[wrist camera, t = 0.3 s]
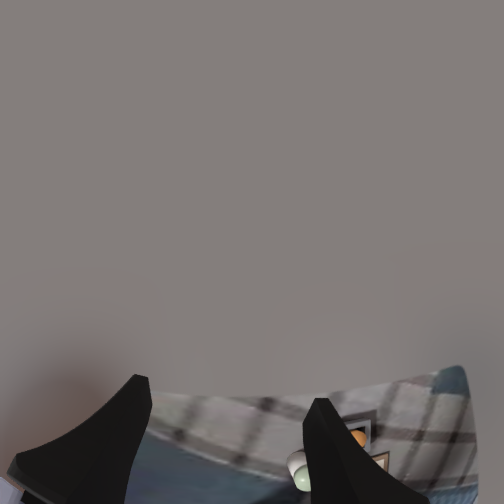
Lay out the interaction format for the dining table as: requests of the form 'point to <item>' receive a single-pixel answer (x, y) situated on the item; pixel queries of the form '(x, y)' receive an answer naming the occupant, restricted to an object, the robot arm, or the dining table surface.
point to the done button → (359, 437)
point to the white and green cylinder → (299, 470)
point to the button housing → (361, 429)
